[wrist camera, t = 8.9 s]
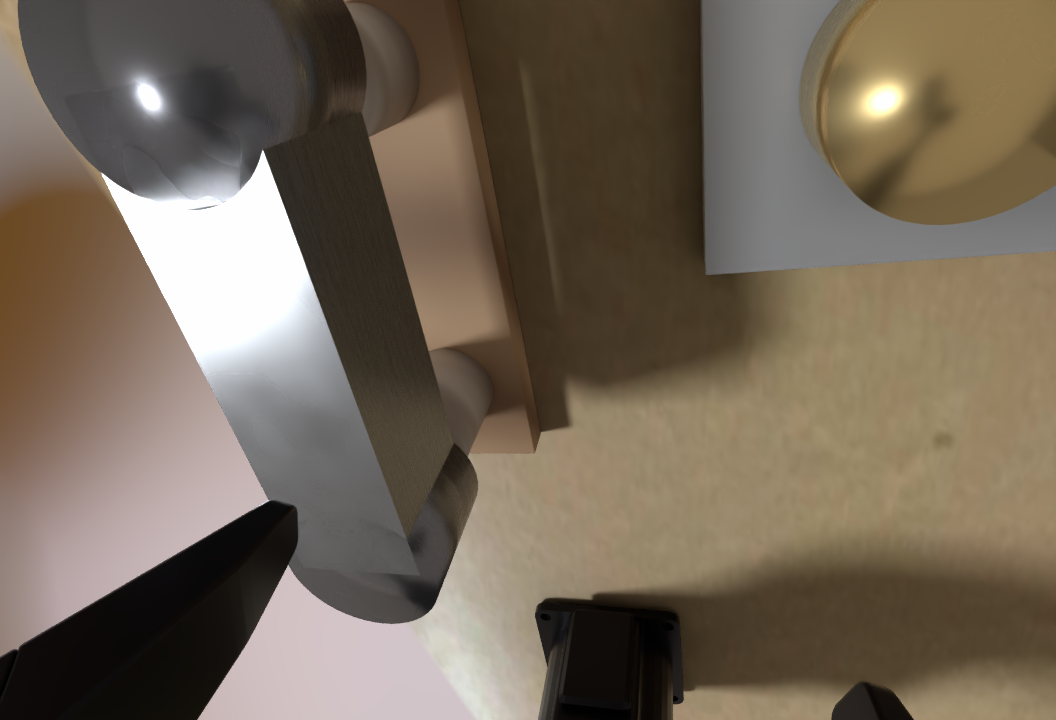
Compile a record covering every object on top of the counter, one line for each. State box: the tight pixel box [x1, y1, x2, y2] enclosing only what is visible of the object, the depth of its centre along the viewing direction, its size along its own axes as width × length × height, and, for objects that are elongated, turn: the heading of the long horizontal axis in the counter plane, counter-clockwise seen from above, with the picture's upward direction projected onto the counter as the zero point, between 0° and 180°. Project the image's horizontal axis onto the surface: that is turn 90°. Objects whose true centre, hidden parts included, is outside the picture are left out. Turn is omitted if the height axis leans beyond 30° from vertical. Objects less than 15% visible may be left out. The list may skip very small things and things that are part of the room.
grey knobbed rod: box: [18, 0, 478, 624], centre depth 13 cm, size 15×4×4 cm, turn 9°
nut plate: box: [700, 0, 1056, 275], centre depth 14 cm, size 9×9×1 cm
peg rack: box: [343, 0, 541, 457], centre depth 17 cm, size 16×5×5 cm, turn 10°
